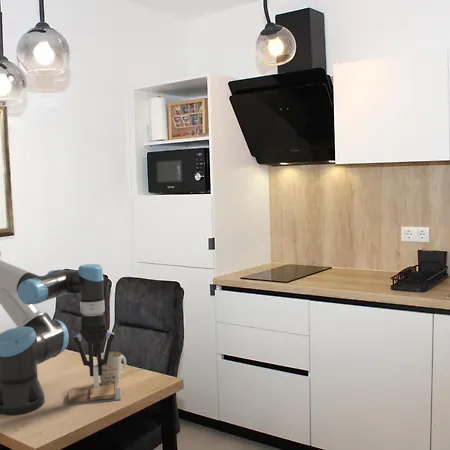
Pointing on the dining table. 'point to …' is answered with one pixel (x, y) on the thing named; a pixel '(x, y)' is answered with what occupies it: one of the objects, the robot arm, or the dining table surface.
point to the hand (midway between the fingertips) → (96, 385)
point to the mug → (112, 368)
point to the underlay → (101, 399)
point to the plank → (103, 392)
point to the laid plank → (79, 395)
